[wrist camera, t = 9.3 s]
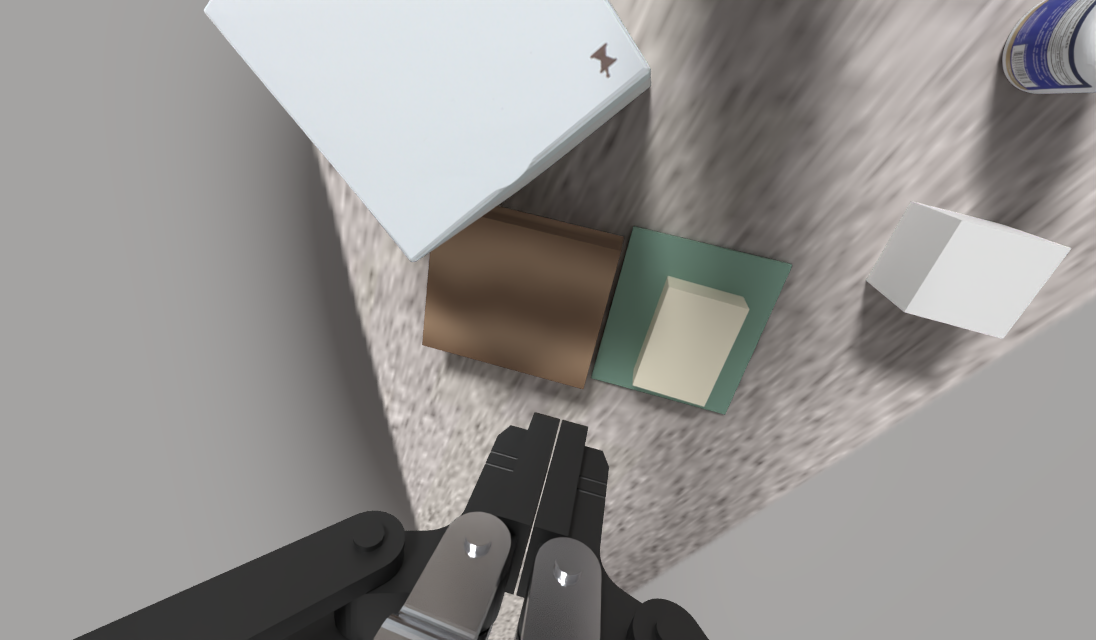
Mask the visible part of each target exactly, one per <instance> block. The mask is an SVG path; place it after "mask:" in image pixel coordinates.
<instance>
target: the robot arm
mask: <svg viewBox="0 0 1096 640" xmlns="http://www.w3.org/2000/svg"><path fill="white" fill-rule="evenodd" d="M559 422H560V419H558V418H554V417H551V416H547V415H543V414H540V413H536V412H535V413H534V415H533V418H532V420H531V423H530V426H529V429H528V430H526V429H522V428H519V427H515V426H509V427H508V428H507V429H506V430H504V431H503V432H502V433H501V434H499V435H498V437H497V439H496V441H495V443H494V446H493V448H492V450H491V453H490V454H489V457H488V459H487V461H486V464H485V466H484V468H483V470H482V472H481V475H480V477H479V479H478V481H477V484H476V486H475V488H474V490H473V493H472V495H471V497H470V499H469V502H468V504H467V506H466V508H465V510H464V512H463V513H462V515H461V516H459V517H458V518H456V519H455V520H454V521H453V522H452V523H451V524H450V525H448V526H446V527H443V528H440V529H436V530H429V531H404V528H403V526H402V524H401V522H400V521H399V520H398V519H397V518H396V517H394V516H393V515H391V514H388V513H386V512H381V511H367V512H363V513H359V514H357V515H354V516H352V517H350V518H347V519H345V520H343V521H341V522H338V523H336V524H334V525H332V526H329V527H327V528H325V529H322V530H320V531H318V532H316V533H313V534H311V535H309V536H307V537H304V538H302V539H300V540H298V541H295V542H293V543H291V544H289V545H286V546H284V547H282V548H279V549H277V550H275V551H273V552H270V553H268V554H266V555H263V556H261V557H259V558H257V559H254V560H252V561H250V562H248V563H245V564H243V565H241V566H239V567H236V568H234V569H232V570H229V571H227V572H225V573H223V574H220V575H218V576H216V577H214V578H211V579H209V580H207V581H205V582H202V583H200V584H198V585H196V586H193V587H191V588H189V589H186V590H184V591H182V592H180V593H178V594H175V595H173V596H171V597H168V598H166V599H164V600H162V601H159V602H157V603H155V604H153V605H150V606H148V607H146V608H143V609H141V610H139V611H137V612H134V613H132V614H130V615H128V616H125V617H123V618H121V619H118V620H116V621H114V622H112V623H110V624H107V625H105V626H103V627H100V628H98V629H96V630H94V631H91V632H89V633H87V634H84V635H82V636H80V637H78V638H76V639H73V640H488V637H489V635H490V632H491V629H492V626H493V623H494V621H495V620H496V618H497V616H498V613H499V610H500V606H501V603H502V600H503V596H504V593H505V592H507V593H510V594H514V591H515V587H516V583H517V580H518V576H519V572H520V569H521V565H522V561H523V558H524V554H525V550H526V547H527V543H528V539H529V536H530V532H531V529H532V525H533V521H534V518H535V514H536V510H537V507H538V503H539V499H540V496H541V492H542V488H543V485H544V481H545V477H546V473H547V470H548V466H549V462H550V458H551V454H552V450H553V446H554V442H555V438H556V434H557V430H558V426H559ZM587 431H588V427H587V426H584V425H580V424H576V423H573V422H569V421H565V420H562V423H561V427H560V431H559V434H558V438H557V442H556V446H555V449H554V453H553V457H552V460H551V464H550V468H549V471H548V475H547V479H546V483H545V486H544V490H543V494H542V497H541V501H540V505H539V509H538V512H537V516H536V520H535V523H534V527H533V531H532V535H531V539H530V543H529V547H528V551H527V555H526V559H525V563H524V567H523V571H522V575H521V579H520V583H519V587H518V591H517V596H520V597H524V602H523V606H522V610H521V614H520V618H519V622H518V626H517V630H516V634H515V638H514V640H709V639H708V638H707V637H706V635H705V634H704V632H703V631H702V629H701V628H700V627H699V625H698V624H697V622H696V621H695V620H694V618H693V617H692V616H691V615H690V614H689V613H688V612H687V611H686V610H685V609H683V608H682V607H681V606H679V605H677V604H675V603H674V602H671V601H668V600H665V599H651V600H648V601H646V602H644V603H641V602H639V601H638V600H636V599H635V598H633V597H632V596H630V595H629V594H627V593H626V592H624V591H623V590H622V589H620V588H619V587H618V586H617V585H616V584H615V583H614V582H613V581H612V580H611V579H610V578H609V576H608V575H607V573H606V572H605V570H604V568H603V565H602V562H601V559H600V543H601V534H602V525H603V516H604V507H605V497H606V489H607V480H608V471H609V466H608V463H607V461H606V458H605V456H604V453H603V451H601V450H597V449H594V448H590V447H587V446H585V442H586V436H587Z"/></svg>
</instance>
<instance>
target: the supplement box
mask: <svg viewBox="0 0 1096 640" xmlns="http://www.w3.org/2000/svg"><path fill="white" fill-rule="evenodd" d="M204 13H205V14H206V15H207V17H208V18H209V19H210V20H211V21H212V22H213V23H214V25H215V26H216V27H217V28H218V30H219V31H220V32H221V33H222V34H223V36H224V37H225V38H226V39H227V40H228V42H229V43H230V44H231V45H232V46H233V48H234V49H235V50H236V51H237V52H238V53H239V55H240V56H241V57H242V58H243V60H244V61H245V62H246V63H247V64H248V66H249V67H250V68H251V69H252V70H253V71H254V73H255V74H256V75H257V76H258V77H259V79H260V80H261V81H262V82H263V83H264V85H265V86H266V87H267V88H268V89H269V91H270V92H271V93H272V94H273V96H274V97H275V98H276V99H277V100H278V102H279V103H280V104H281V105H282V106H283V107H284V109H285V110H286V111H287V112H288V113H289V114H290V116H291V117H292V118H293V119H294V121H295V122H296V123H297V124H298V125H299V127H300V128H301V129H302V130H303V131H304V133H305V134H306V135H307V136H308V137H309V139H310V140H311V141H312V142H313V143H314V144H315V146H316V147H317V148H318V149H319V150H320V152H321V153H322V154H323V155H324V156H325V157H326V159H327V160H328V161H329V162H330V163H331V164H332V166H333V167H334V168H335V169H336V170H337V172H338V173H339V174H340V175H341V177H342V178H343V179H344V180H345V181H346V183H347V184H348V185H349V186H350V187H351V189H352V190H353V191H354V192H355V193H356V195H357V196H358V197H359V198H360V199H361V201H362V202H363V203H364V204H365V206H366V207H367V208H368V209H369V211H370V212H371V213H372V214H373V216H374V217H375V218H376V219H377V221H378V222H379V223H380V224H381V226H382V227H383V228H384V229H385V231H386V232H387V233H388V234H389V235H390V237H391V238H392V239H393V240H394V242H395V243H396V244H397V245H398V247H399V248H400V249H401V250H402V252H403V253H404V254H405V255H406V257H407V258H408V259H409V260H410V261H411V262H416V261H418V260H419V259H421V258H422V257H424V256H425V255H427V254H428V253H430V252H431V251H433V250H434V249H436V248H437V247H438V246H440V245H441V244H443V243H444V242H446V241H447V240H449V239H450V238H452V237H453V236H454V235H456V234H457V233H459V232H460V231H462V230H463V229H464V228H466V227H467V226H469V225H470V224H472V223H473V222H474V221H476V220H477V219H479V218H480V217H482V216H483V215H485V214H486V213H487V212H489V211H490V210H492V209H493V208H495V207H496V206H497V205H499V204H500V203H502V202H503V201H505V200H506V199H507V198H509V197H510V196H512V195H513V194H515V193H516V192H517V191H519V190H520V189H521V188H523V187H524V186H525V185H527V184H528V183H529V182H531V181H532V180H533V179H535V178H536V177H537V176H539V175H540V174H541V173H543V172H544V171H545V170H546V169H548V168H549V167H550V166H552V165H553V164H554V163H555V162H557V161H558V160H559V159H560V158H562V157H563V156H564V155H565V154H567V153H568V152H569V151H570V150H572V149H573V148H574V147H576V146H577V145H578V144H579V143H581V142H582V141H583V140H584V139H586V138H587V137H588V136H589V135H591V134H592V133H593V132H594V131H596V130H597V129H598V128H599V127H600V126H602V125H603V124H604V123H605V122H607V121H608V120H609V119H610V118H612V117H613V116H614V115H615V114H617V113H618V112H619V111H620V110H622V109H623V108H624V107H625V106H626V105H628V104H629V103H630V102H631V101H633V100H634V99H635V98H636V97H638V96H639V95H640V94H642V93H643V92H644V91H645V90H647V89H648V88H649V87H650V86H651V69H650V67H649V65H648V63H647V62H646V60H645V59H644V57H643V55H642V54H641V52H640V51H639V49H638V47H637V46H636V44H635V42H634V41H633V39H632V37H631V36H630V34H629V33H628V31H627V29H626V28H625V26H624V24H623V23H622V21H621V19H620V18H619V16H618V14H617V13H616V11H615V9H614V8H613V6H612V4H611V3H610V1H609V0H210V1H209V3H208V4H207V6H206V7H205V9H204Z"/></svg>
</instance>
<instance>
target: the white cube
mask: <svg viewBox="0 0 1096 640" xmlns="http://www.w3.org/2000/svg"><path fill="white" fill-rule="evenodd" d="M1070 249H1071V248H1070V247H1067V246H1064V245H1061V244H1058V243H1055V242H1052V241H1049V240H1047V239H1044V238H1041V237H1038V236H1035V235H1032V234H1029V233H1026V232H1023V231H1021V230H1018V229H1015V228H1012V227H1009V226H1006V225H1003V224H1000V223H996V222H992V221H988V220H984V219H980V218H976V217H972V216H968V215H964V214H960V213H956V212H953V211H949V210H945V209H941V208H937V207H933V206H929V205H925V204H921V203H917V202H913V201H911V202H910V204H909V206H908V207H907V209H906V211H905V213H904V214H903V216H902V218H901V220H900V221H899V223H898V225H897V227H896V228H895V230H894V232H893V234H892V235H891V237H890V239H889V241H888V243H887V244H886V246H885V248H884V250H883V251H882V253H881V255H880V257H879V258H878V260H877V262H876V264H875V265H874V267H873V269H872V271H871V272H870V274H869V276H868V278H867V279H866V281H867V282H868V283H870V284H871V285H872V286H873V287H874V288H876V289H877V290H878V291H879V292H880V293H882V294H883V295H884V296H885V297H886V298H888V299H889V300H890V301H891V302H893V303H894V304H895V305H896V306H897V307H899V308H900V309H901V310H902V311H903V312H905V313H909V314H913V315H916V316H920V317H924V318H927V319H931V320H935V321H939V322H942V323H946V324H950V325H953V326H957V327H961V328H964V329H968V330H972V331H975V332H979V333H983V334H986V335H990V336H994V337H997V338H1001V339H1003V338H1004V337H1005V335H1006V334H1007V333H1008V331H1009V330H1010V329H1011V327H1012V326H1013V325H1014V323H1015V322H1016V321H1017V320H1018V318H1019V317H1020V316H1021V314H1022V313H1023V312H1024V310H1025V309H1026V308H1027V306H1028V305H1029V304H1030V302H1031V301H1032V300H1033V298H1034V297H1035V296H1036V294H1037V293H1038V292H1039V290H1040V289H1041V288H1042V286H1043V285H1044V284H1045V282H1046V281H1047V280H1048V279H1049V277H1050V276H1051V275H1052V273H1053V272H1054V271H1055V269H1056V268H1057V267H1058V265H1059V264H1060V263H1061V261H1062V260H1063V259H1064V257H1065V256H1066V255H1067V253H1068V252H1069V251H1070Z"/></svg>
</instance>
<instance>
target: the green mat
mask: <svg viewBox="0 0 1096 640" xmlns="http://www.w3.org/2000/svg"><path fill="white" fill-rule="evenodd" d="M791 268H792V265H791V264H789V263H785V262H781V261H777V260H773V259H768V258H764V257H760V256H756V255H752V254H748V253H744V252H739V251H735V250H731V249H727V248H723V247H719V246H715V245H710V244H706V243H702V242H698V241H694V240H690V239H686V238H681V237H677V236H673V235H669V234H665V233H661V232H657V231H652V230H648V229H644V228H640V227H636V226H633V230H632V234H631V237H630V241H629V244H628V248H627V251H626V255H625V259H624V262H623V266H622V269H621V273H620V276H619V280H618V284H617V287H616V291H615V294H614V298H613V301H612V305H611V309H610V312H609V316H608V319H607V323H606V326H605V330H604V334H603V337H602V341H601V344H600V348H599V351H598V355H597V358H596V362H595V366H594V369H593V373H592V377H591V378H593V379H596V380H600V381H604V382H607V383H611V384H615V385H618V386H622V387H626V388H629V389H633V390H637V391H640V392H644V393H648V394H651V395H655V396H659V397H662V398H666V399H670V400H673V401H677V402H681V403H684V404H688V405H692V406H695V407H699V408H703V409H706V410H710V411H714V412H717V413H721V414H726V411H727V409H728V407H729V405H730V403H731V400H732V398H733V396H734V394H735V391H736V389H737V387H738V385H739V383H740V380H741V378H742V376H743V374H744V372H745V369H746V367H747V365H748V363H749V361H750V358H751V356H752V354H753V352H754V349H755V347H756V345H757V343H758V341H759V338H760V336H761V334H762V332H763V330H764V327H765V325H766V323H767V321H768V319H769V316H770V314H771V312H772V310H773V307H774V305H775V303H776V301H777V299H778V296H779V294H780V292H781V290H782V288H783V285H784V283H785V281H786V279H787V277H788V274H789V272H790V270H791ZM668 276H670V277H674V278H678V279H681V280H685V281H688V282H692V283H695V284H699V285H703V286H706V287H710V288H713V289H717V290H720V291H724V292H728V293H731V294H735V295H738V296H742V297H744V299H745V301H746V303H747V305H748V308H749V312H748V314H747V316H746V318H745V320H744V322H743V325H742V327H741V329H740V331H739V333H738V335H737V337H736V340H735V342H734V344H733V346H732V348H731V350H730V352H729V355H728V357H727V359H726V361H725V363H724V365H723V368H722V370H721V372H720V374H719V376H718V378H717V380H716V383H715V385H714V387H713V389H712V391H711V393H710V395H709V398H708V400H707V402H706V404H705V406H704V407H703V406H700V405H697V404H693V403H690V402H687V401H683V400H680V399H677V398H673V397H670V396H667V395H663V394H660V393H657V392H653V391H650V390H647V389H643V388H640V387H637V386H633V370H634V367H635V364H636V362H637V359H638V356H639V353H640V351H641V348H642V345H643V342H644V340H645V337H646V334H647V331H648V329H649V326H650V323H651V320H652V318H653V315H654V312H655V309H656V307H657V304H658V301H659V298H660V296H661V293H662V290H663V288H664V285H665V282H666V279H667V277H668Z"/></svg>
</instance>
